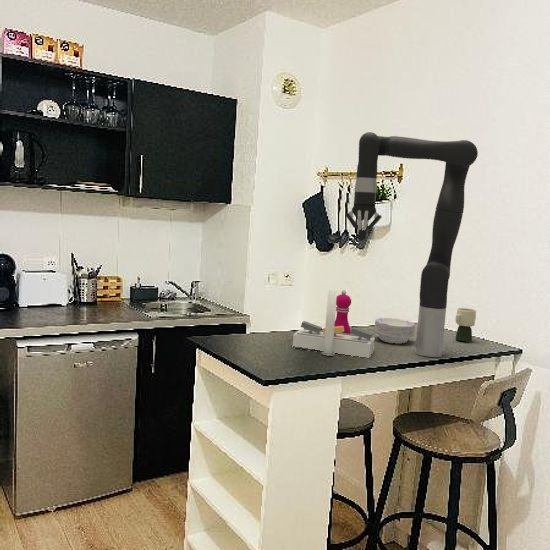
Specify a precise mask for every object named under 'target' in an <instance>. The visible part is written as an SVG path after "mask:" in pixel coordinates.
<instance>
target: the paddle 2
mask: <svg viewBox="0 0 550 550" xmlns="http://www.w3.org/2000/svg"><path fill="white" fill-rule="evenodd" d="M350 330H351V333H350V334H354V335H357V336H360V337H362V338H365V339H368V340H370V339H371V337H372V336H373V333H372V332H369V331H366V330H363V329H360V328H358V327H355V326H353V327H352V328H351V329H350Z"/></svg>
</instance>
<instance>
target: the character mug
mask: <svg viewBox="0 0 550 550" xmlns="http://www.w3.org/2000/svg"><path fill="white" fill-rule="evenodd" d="M476 316H477V310H475V309H473V308H467V307H458V308H457V309H456V315H455V323H456V324H457V325H458V327H457V329H456V333H455V340H458V341H460V342H462V341H463V342H472V341H473V331H472V327H474V326H475V323H476V319H477V317H476Z"/></svg>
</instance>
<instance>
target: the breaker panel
mask: <svg viewBox="0 0 550 550" xmlns="http://www.w3.org/2000/svg"><path fill="white" fill-rule="evenodd" d="M292 335H293V337H292V347H293V346H295V347H302V348H308V349H315V350H320V351H324V341H325V334H323V329H322V330H321V332H320V333H316V332H313V331H311V330H308V329H305V328H300V329H299V330H297V331H296V332H294V333H293V334H292ZM375 340H376V338H375V337H371V339H370V340H368V339H365V338H362V337H360V336H357V335H354V334H351V333H350V334H346V333H334V339H333V353H338V354H345V355H351V356H350V357H353V356H359V357H358V358H360V357H367V358H369V357H370V358H371V356H372V355H373V353H374V352H373V351H375ZM338 354H337V355H338ZM371 354H372V355H371ZM345 355H344V356H345ZM367 358H366V359H367ZM370 358H369V359H370Z"/></svg>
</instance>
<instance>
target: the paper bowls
mask: <svg viewBox="0 0 550 550" xmlns="http://www.w3.org/2000/svg"><path fill="white" fill-rule="evenodd" d="M415 331H416V323H414V322H413V321H410V320H408V319H407V320H406V319H403V318H395V317H377V318H376V319H375V320H374V333H375V334H377V335H378V337H379V339H380V340H381V341H383V342H384V343H387V342H388V343H389V344H393V343H395V345H400V344H401V345H402V343H403V344H405V343H407V342H408V341H409V339H410V338H411V339H412V337H414V335H415ZM388 343H387V344H388Z"/></svg>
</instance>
